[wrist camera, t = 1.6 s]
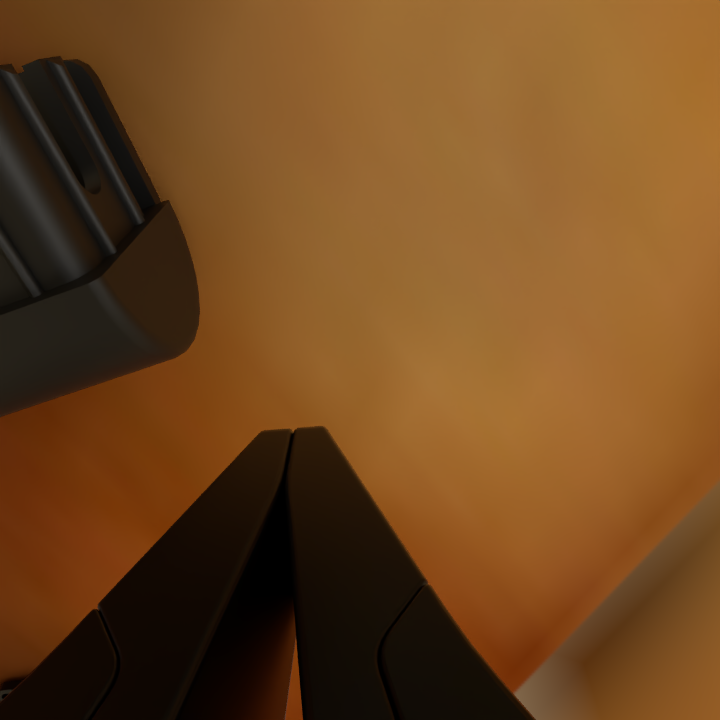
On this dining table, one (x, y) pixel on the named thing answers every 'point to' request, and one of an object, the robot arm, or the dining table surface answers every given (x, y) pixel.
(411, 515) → the dining table surface
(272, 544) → the robot arm
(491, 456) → the dining table surface
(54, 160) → the end cap
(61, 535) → the dining table surface
